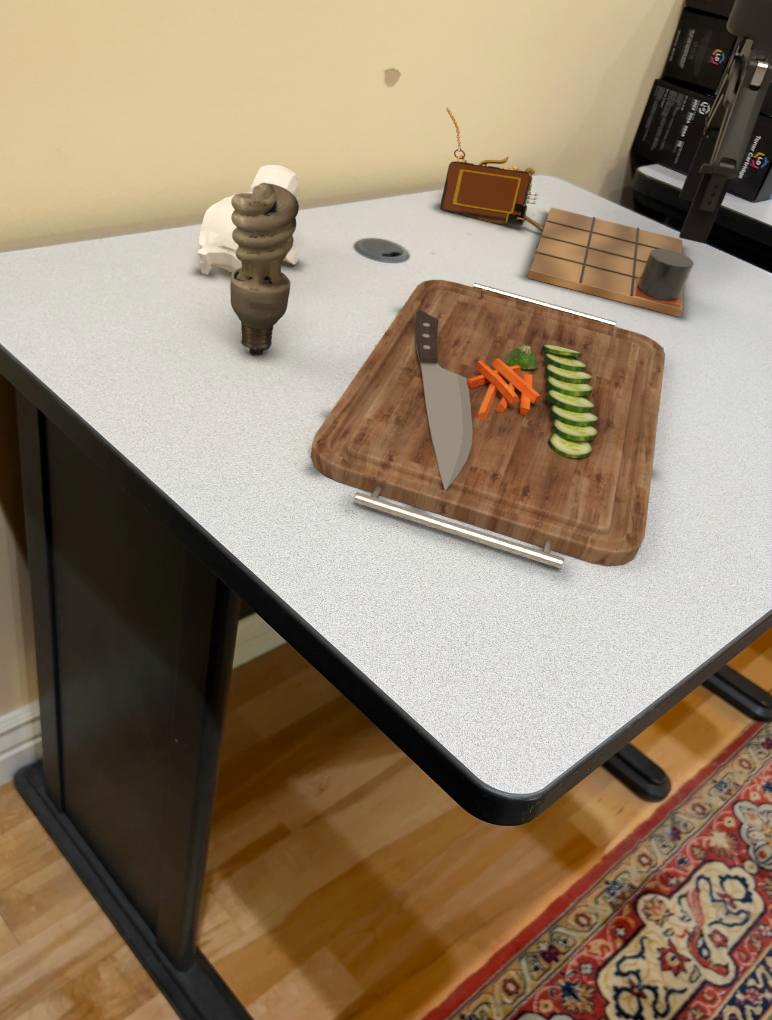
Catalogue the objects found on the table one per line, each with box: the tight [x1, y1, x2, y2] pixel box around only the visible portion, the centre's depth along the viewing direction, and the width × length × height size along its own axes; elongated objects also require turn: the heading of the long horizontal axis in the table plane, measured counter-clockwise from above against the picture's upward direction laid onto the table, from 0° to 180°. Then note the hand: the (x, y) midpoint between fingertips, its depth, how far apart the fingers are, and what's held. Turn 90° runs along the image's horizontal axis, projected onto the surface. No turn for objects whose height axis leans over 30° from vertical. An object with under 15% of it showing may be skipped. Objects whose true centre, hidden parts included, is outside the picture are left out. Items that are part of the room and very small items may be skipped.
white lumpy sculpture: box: [197, 164, 300, 276], centre depth 95 cm, size 9×8×15 cm
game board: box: [527, 206, 684, 318], centre depth 112 cm, size 18×24×1 cm
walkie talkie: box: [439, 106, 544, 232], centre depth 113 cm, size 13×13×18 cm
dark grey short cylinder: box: [637, 249, 694, 301], centre depth 102 cm, size 5×5×4 cm
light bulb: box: [229, 183, 300, 356], centre depth 77 cm, size 6×6×15 cm
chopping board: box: [310, 279, 666, 569], centre depth 81 cm, size 45×27×3 cm, turn 161°
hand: (691, 219), depth 98 cm, fingers open, 13 cm apart
